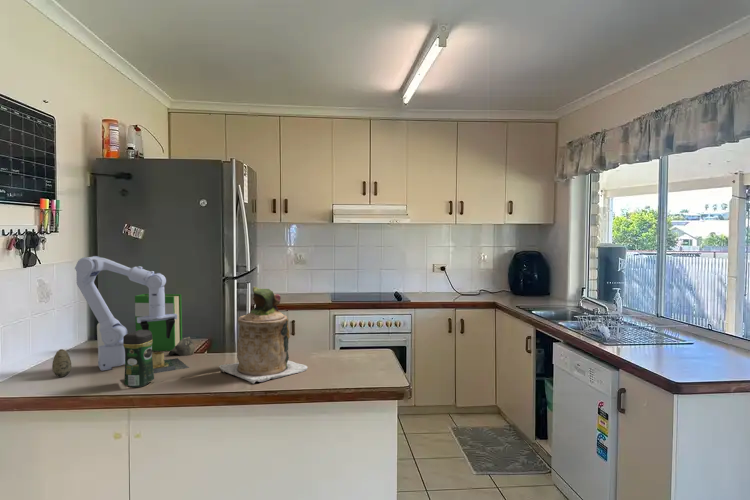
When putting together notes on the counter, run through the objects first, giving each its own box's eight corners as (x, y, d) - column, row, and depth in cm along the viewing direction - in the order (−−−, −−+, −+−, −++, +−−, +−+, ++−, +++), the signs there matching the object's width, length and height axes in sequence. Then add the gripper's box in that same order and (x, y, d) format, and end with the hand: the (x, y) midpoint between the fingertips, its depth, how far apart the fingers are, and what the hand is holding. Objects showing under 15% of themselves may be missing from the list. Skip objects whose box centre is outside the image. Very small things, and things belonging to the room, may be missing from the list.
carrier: (147, 377, 187) (146, 366, 186) (137, 366, 200) (137, 356, 200) (189, 370, 195) (189, 359, 195) (177, 360, 209) (177, 350, 209)
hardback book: (182, 347, 232) (181, 294, 231) (174, 351, 225) (173, 296, 224) (145, 346, 234) (144, 293, 233) (136, 350, 227) (134, 296, 226)
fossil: (169, 351, 221) (180, 330, 222) (189, 360, 224) (200, 339, 225) (166, 357, 211) (178, 335, 212) (187, 366, 213) (199, 344, 214)
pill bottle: (102, 347, 232) (101, 314, 231) (120, 346, 233) (119, 314, 232) (94, 351, 224) (93, 317, 223) (113, 351, 225) (112, 317, 224)
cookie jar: (254, 385, 177) (253, 293, 175) (216, 371, 193) (215, 287, 192) (310, 370, 195) (309, 286, 193) (270, 359, 212) (270, 281, 210)
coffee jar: (137, 379, 184) (136, 327, 183) (157, 380, 183) (156, 328, 182) (119, 387, 174) (118, 333, 173) (141, 388, 173) (139, 334, 172)
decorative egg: (75, 374, 190) (74, 347, 189) (62, 379, 184) (61, 351, 183) (62, 373, 191) (61, 346, 191) (48, 378, 185) (47, 350, 185)
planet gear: (150, 372, 189) (149, 356, 189) (145, 367, 195) (145, 352, 195) (170, 369, 193) (169, 353, 193) (165, 364, 199) (165, 350, 199)
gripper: (139, 307, 193) (139, 343, 194) (179, 304, 202) (179, 338, 202) (135, 305, 199) (136, 340, 200) (174, 302, 207) (175, 335, 208)
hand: (157, 339), depth 201 cm, fingers open, 7 cm apart
